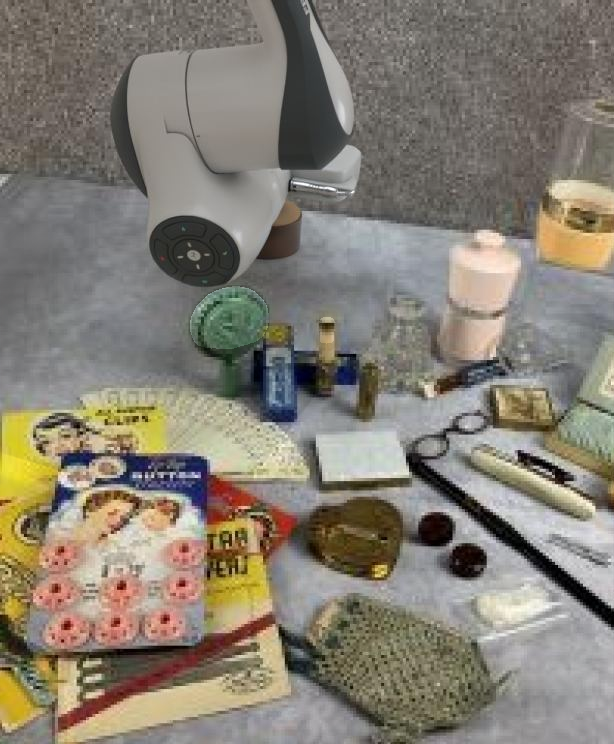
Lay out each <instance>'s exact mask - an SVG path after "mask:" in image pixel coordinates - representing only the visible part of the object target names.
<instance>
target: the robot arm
mask: <svg viewBox="0 0 614 744" xmlns="http://www.w3.org/2000/svg"><path fill="white" fill-rule="evenodd" d="M246 2H247V5H248V7H249V10H250V13H251V15H252V17H253V19H254V21H255V24H256V26H257V28H258V31H259V33H260V36H261V38H262V41H261V42H259V43H253V44H252V43H251V44H243V45H233V46H232V45H231V46H224V47H214V48H205V49H204V48H203V49H199V48H189V49H181V50H172V51H163V52H153V53H148V54H138V55H137V56H135V57H134V58H133V59H132V60H130V62H129V63H128V64H127V65H126V67H125V68H124V70H123V72H122V74H121V76H120V78H119V80H118V82H117V85H116V86H115V87H116V88H115V90H114V93H113V96H112V98H111V104H110V111H109V120H110V121H109V122H110V129H111V134H112V139H113V143H114V145H115V149H116V152H117V154H118V157H119V159H120V162H121V164H122V166H123V168H124V170H125V172H126V174H127V175H128V177H129V178H130V180H131V181H132V182H133V183H134V185H135V186H136V187H137V189H139V191H140V192H141V194H142V195H143V196H144V197H145V198H146V199H147V202H148V214H147V223H146V230H145V231H146V233H145V236H146V237H145V239H146V246H147V250H148V252H149V255H150V257H151V259H152V261H153V263H154V264H155V266H157V267H158V269H159V270H160V271H161V272H163V273H164V274H165V275H167V276H168V277H169V278H171V279H173V280H175V281H177V282H179V283H181V284H183V285H187V286H191V287H195V288H214V287H220V286H224V285H227V284H229V283H231V282H232V281H234V280H236V279H238V278H239V277H240V276H241V275H243V274H244V273H245V272H246V271H247V270H248V269H249V268H250V267H251V266H252V264H253V263H254V261H255V260H256V259H257V258H256V257H257V256H258V254H259V252H260V251H261V249H262V247H263V245H264V244H265V242H266V240H267V238H268V235H269V233H270V230H271V226H272V224H273V223H274V222H275V220H276V219H277V217H278V215H279V213H280V211H281V209H282V207H283V205H284V203H285V201H286V200H288V197H292V198H298V199H305V200H312V201H316V202H321V203H322V202H323V203H339V202H342V201H344V200H345V199H347V197H353V196H354V195H355V192H356V191H357V188H358V183H359V180H360V173H361V165H362V164H361V163H362V152H361V150H360V149H359V148H357V147H356V146H354V145H350V144H348V143H349V142H350V141H351V139H352V138H353V136H354V132H355V107H354V99H353V95H352V89H351V87H350V85H349V80H348V78H347V76H346V73H345V72H344V70H343V68H342V66H341V64H340V61H339V59H338V57H337V55H336V52H335V50H334V48H333V46H332V43H331V42H330V39H329V38H328V35H327V34H326V32H325V29H324V27H323V25H322V23H321V20H320V18H319V15H318V12H317V9H316V8H315V5H314V2H313V0H246Z"/></svg>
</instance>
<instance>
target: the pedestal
mask: <svg viewBox="0 0 614 744" xmlns="http://www.w3.org/2000/svg"><path fill="white" fill-rule="evenodd" d="M302 223H303V212H302V210H301V208H300V207H299V206H298V205H297V204H295V203H294V202H292V201H290V200H289V199H286V201H285V203H284V205H283V207H282V209H281V211H280V213H279V215H278V217H277V219H276V220H275V222H274V223H273V224H272V226H271V230H270V233H269V235H268V238H267V240H266V242H265V244H264V245H263V247H262V249H261V251H260V252H259V254H258V256H257V257H256V259H262V260H276V259H283V258H287V257H290V256H292V255H294V254H296V253H297V252H298V250H299V249H300V247H301V237H302V235H301V234H302V225H303V224H302Z"/></svg>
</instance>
